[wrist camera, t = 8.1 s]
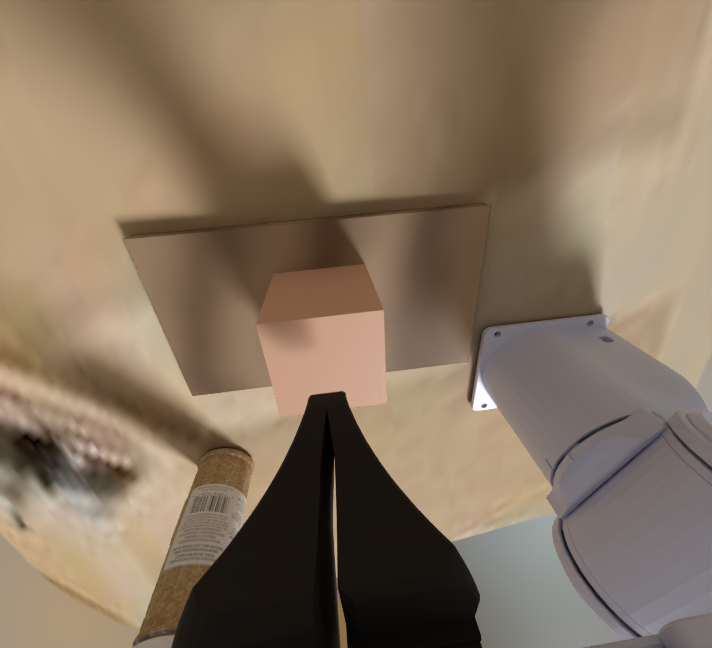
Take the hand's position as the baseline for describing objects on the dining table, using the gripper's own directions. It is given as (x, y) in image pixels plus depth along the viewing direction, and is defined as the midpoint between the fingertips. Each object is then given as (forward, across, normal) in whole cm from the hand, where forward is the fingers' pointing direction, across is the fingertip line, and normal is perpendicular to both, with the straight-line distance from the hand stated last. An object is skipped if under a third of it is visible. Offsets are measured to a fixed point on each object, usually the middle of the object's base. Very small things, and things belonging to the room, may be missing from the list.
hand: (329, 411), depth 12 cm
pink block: (+9, 0, 0) cm, 9 cm away
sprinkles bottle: (+10, +10, +14) cm, 20 cm away
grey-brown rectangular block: (+10, 0, 0) cm, 10 cm away
